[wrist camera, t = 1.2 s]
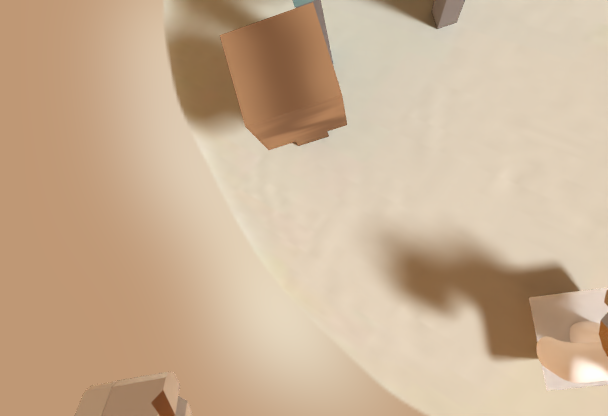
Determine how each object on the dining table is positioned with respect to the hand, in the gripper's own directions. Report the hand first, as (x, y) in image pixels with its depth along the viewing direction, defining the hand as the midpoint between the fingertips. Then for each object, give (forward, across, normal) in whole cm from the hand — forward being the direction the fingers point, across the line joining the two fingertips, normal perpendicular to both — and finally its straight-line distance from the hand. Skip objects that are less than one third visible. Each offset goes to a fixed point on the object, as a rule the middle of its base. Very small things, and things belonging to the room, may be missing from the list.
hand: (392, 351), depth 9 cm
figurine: (+22, -19, +25) cm, 38 cm away
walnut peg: (+36, -1, +8) cm, 37 cm away
